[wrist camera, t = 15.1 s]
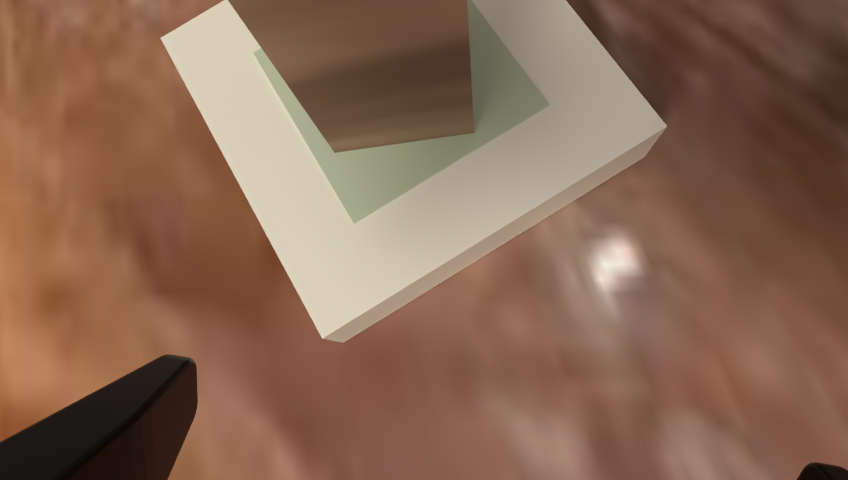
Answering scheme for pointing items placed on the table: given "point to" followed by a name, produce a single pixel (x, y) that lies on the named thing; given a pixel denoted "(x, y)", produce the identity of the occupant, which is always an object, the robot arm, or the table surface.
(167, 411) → the robot arm
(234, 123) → the baseplate
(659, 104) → the table surface
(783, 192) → the table surface
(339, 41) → the walnut pillar
